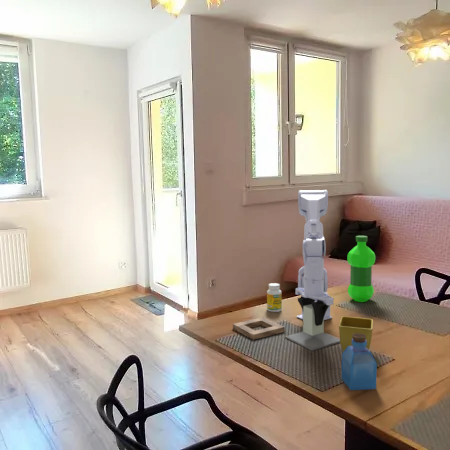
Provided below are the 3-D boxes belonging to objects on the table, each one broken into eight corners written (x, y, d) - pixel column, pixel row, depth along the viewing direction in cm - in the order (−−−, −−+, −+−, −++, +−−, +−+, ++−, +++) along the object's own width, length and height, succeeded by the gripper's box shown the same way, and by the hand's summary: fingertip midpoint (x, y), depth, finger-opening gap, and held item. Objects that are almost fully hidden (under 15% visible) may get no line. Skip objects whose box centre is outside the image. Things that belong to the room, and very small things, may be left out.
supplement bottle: (275, 306, 171) (275, 281, 170) (284, 310, 167) (284, 284, 166) (264, 309, 168) (263, 284, 167) (273, 313, 164) (273, 287, 163)
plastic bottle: (344, 296, 183) (345, 234, 180) (371, 296, 182) (373, 234, 179) (348, 303, 173) (349, 238, 170) (377, 304, 172) (378, 238, 169)
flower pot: (372, 349, 130) (373, 318, 129) (371, 361, 122) (372, 328, 121) (341, 345, 133) (341, 315, 132) (338, 357, 125) (338, 325, 124)
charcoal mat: (314, 330, 146) (314, 328, 146) (342, 341, 136) (342, 340, 136) (285, 337, 140) (285, 336, 140) (311, 350, 130) (311, 349, 130)
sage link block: (314, 328, 141) (314, 303, 140) (323, 332, 137) (323, 306, 136) (303, 331, 138) (303, 306, 137) (312, 335, 135) (312, 309, 134)
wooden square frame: (263, 321, 155) (263, 317, 155) (284, 331, 145) (284, 326, 145) (232, 328, 149) (232, 323, 149) (253, 339, 139) (253, 334, 139)
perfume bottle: (341, 378, 113) (342, 331, 111) (365, 376, 113) (366, 330, 112) (350, 390, 107) (351, 341, 105) (376, 388, 107) (377, 339, 106)
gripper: (287, 275, 140) (287, 318, 141) (320, 285, 127) (320, 332, 129) (305, 272, 143) (305, 314, 145) (339, 281, 131) (338, 327, 133)
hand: (313, 322), depth 137 cm, fingers closed on sage link block, 4 cm apart
